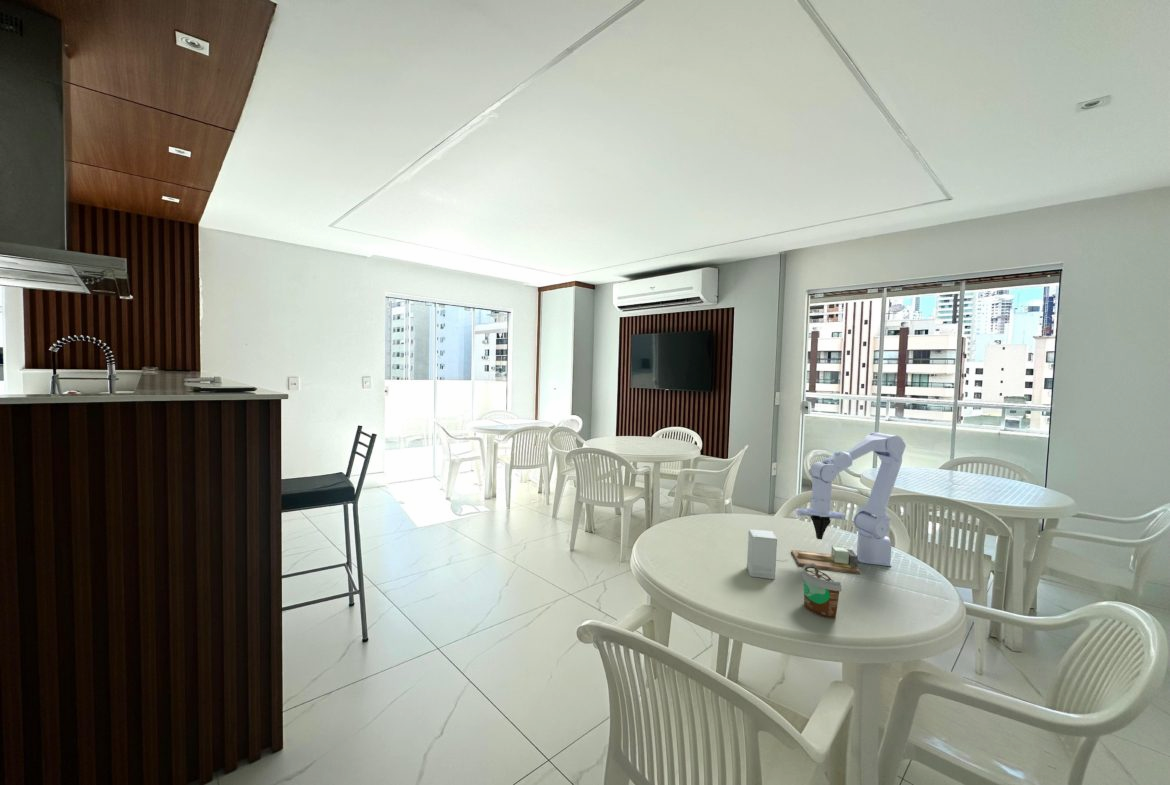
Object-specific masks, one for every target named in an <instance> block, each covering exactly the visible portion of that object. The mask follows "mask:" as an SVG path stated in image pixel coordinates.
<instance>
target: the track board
mask: <svg viewBox="0 0 1170 785" xmlns="http://www.w3.org/2000/svg"><path fill="white" fill-rule="evenodd" d="M846 549H847V548H846ZM847 550H848V552H849V563H848V564H844V563H836V562H834V556H832V555H831V553H822V552H816V551H815V552H814V551H808V550H799V549H797V550H796V549H791V554H792V556H793V558H794V560H795V561H796V564H797V565H798V567H802V568H804V566H805V565H807V564H812V563H814V567H815V568H816V569H818V570H824V571H825V570H827V571H832V572H833V571H834V572H841V573H849V574H857V575H861V570H860V569H859V568H858V560H857V559H858V556H857V555H856V554H855V553H856V552H854V551H853V550H852V549H847Z"/></svg>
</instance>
